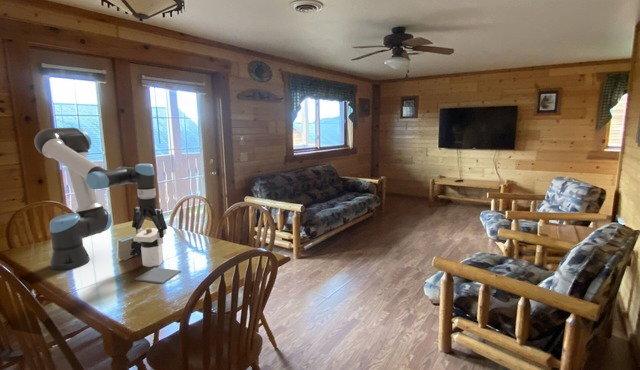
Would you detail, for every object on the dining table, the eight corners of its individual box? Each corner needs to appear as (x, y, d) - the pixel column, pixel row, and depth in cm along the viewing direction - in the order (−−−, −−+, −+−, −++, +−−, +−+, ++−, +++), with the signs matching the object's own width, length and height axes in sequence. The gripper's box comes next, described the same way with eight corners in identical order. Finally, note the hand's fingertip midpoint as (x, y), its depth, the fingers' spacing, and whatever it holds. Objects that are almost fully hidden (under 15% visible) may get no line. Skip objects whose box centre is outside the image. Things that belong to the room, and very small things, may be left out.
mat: (135, 280, 148) (134, 278, 148) (154, 268, 160) (154, 267, 159) (163, 283, 145) (163, 282, 145) (181, 271, 156) (181, 270, 156)
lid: (133, 241, 160) (131, 233, 159) (148, 232, 169) (147, 224, 168) (152, 242, 157) (150, 234, 156) (166, 233, 167) (164, 225, 166)
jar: (143, 268, 160) (141, 243, 158) (141, 262, 166) (139, 238, 164) (164, 264, 165) (162, 240, 162) (161, 258, 171) (159, 235, 169)
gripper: (120, 197, 159) (124, 243, 163) (162, 200, 153) (166, 248, 158) (132, 194, 166) (136, 238, 170) (173, 197, 161) (176, 242, 165)
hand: (150, 243), depth 164 cm, fingers closed on lid, 10 cm apart
